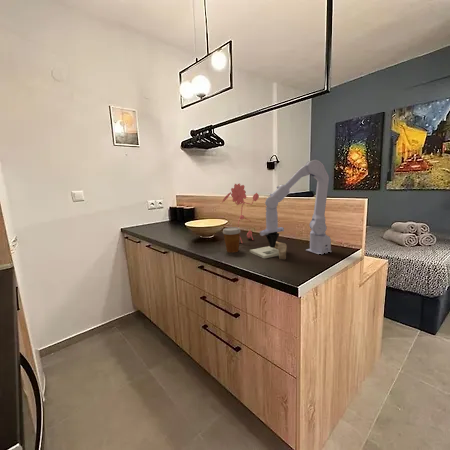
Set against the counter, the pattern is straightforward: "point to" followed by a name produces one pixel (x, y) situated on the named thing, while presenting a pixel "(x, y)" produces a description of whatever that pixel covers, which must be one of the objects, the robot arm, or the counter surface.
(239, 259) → the counter surface
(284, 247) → the loose leg
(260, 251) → the stool seat
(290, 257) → the counter surface
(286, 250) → the hinged leg
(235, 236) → the disposable coffee cup
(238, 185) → the figurine
